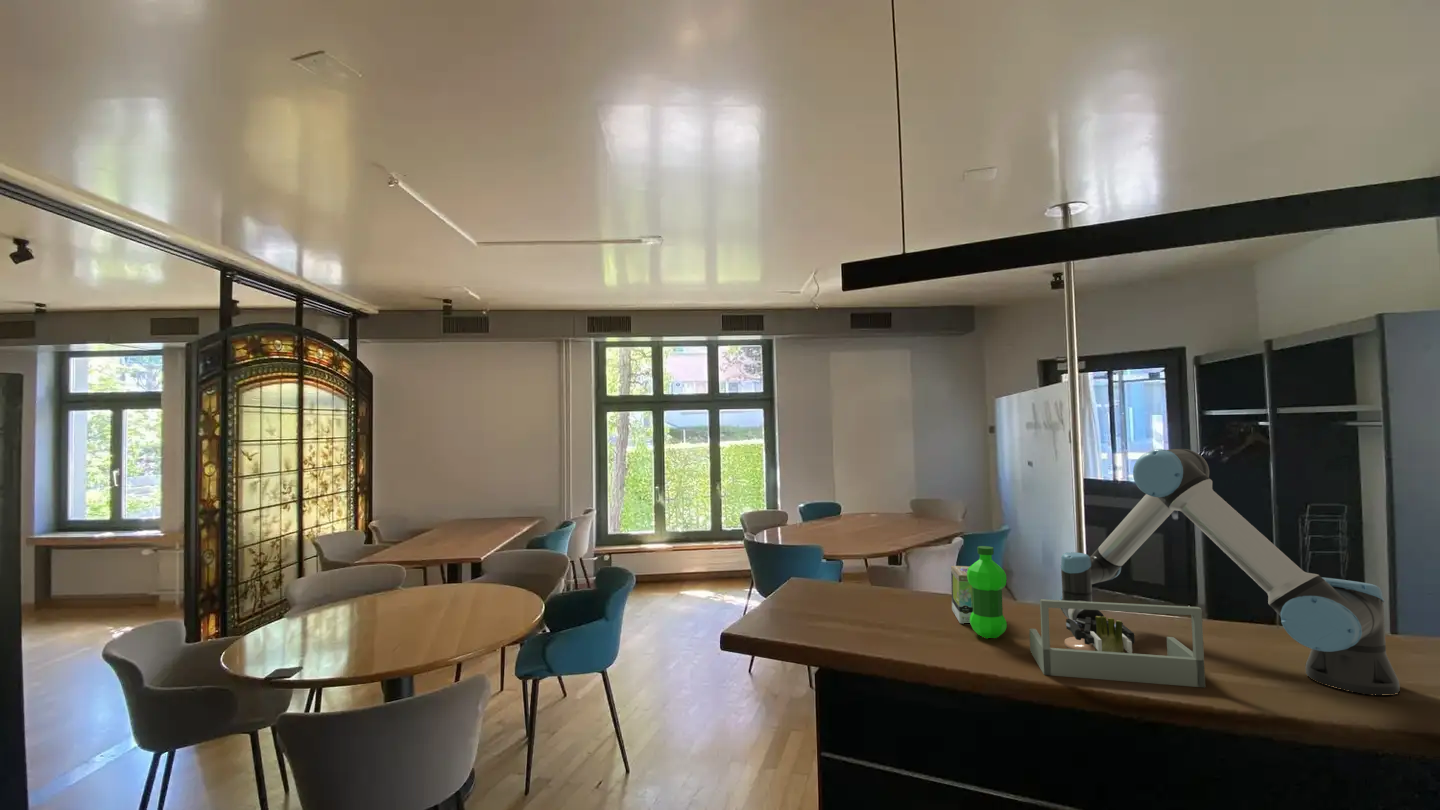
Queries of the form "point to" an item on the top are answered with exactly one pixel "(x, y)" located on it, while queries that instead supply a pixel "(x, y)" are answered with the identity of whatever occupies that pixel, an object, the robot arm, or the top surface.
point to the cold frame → (1122, 666)
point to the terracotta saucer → (1078, 644)
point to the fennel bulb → (1110, 634)
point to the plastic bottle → (987, 595)
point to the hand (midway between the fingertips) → (1114, 646)
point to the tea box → (961, 594)
